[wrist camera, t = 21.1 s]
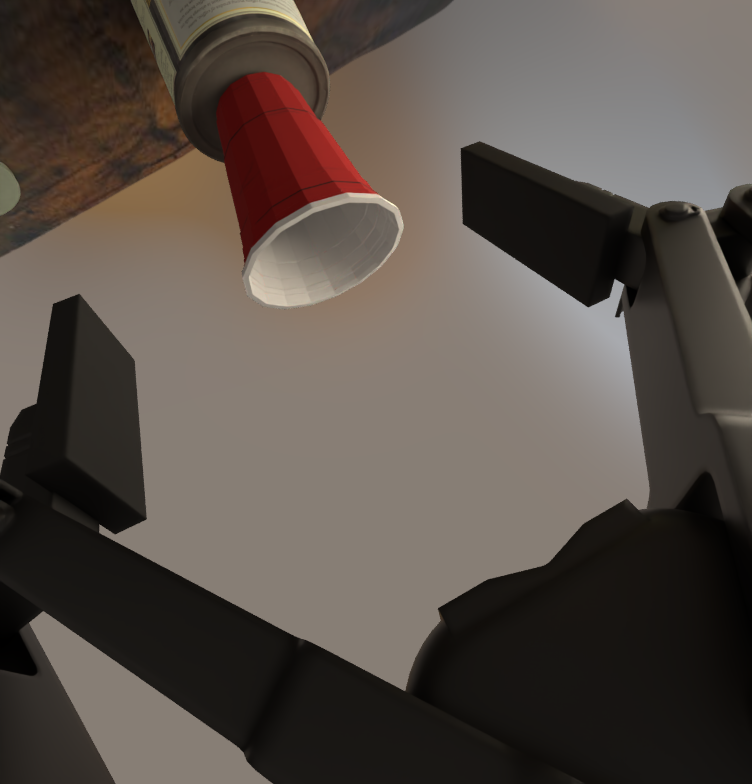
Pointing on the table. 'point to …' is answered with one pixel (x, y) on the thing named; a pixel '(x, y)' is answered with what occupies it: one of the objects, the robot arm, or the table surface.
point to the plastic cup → (298, 198)
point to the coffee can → (228, 55)
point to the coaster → (8, 189)
